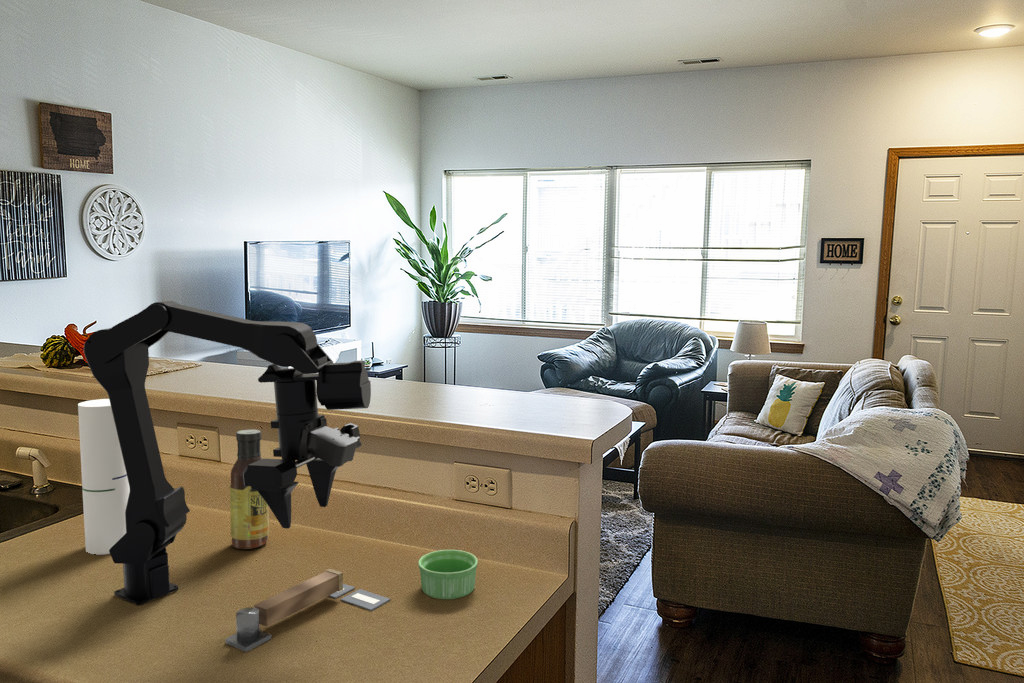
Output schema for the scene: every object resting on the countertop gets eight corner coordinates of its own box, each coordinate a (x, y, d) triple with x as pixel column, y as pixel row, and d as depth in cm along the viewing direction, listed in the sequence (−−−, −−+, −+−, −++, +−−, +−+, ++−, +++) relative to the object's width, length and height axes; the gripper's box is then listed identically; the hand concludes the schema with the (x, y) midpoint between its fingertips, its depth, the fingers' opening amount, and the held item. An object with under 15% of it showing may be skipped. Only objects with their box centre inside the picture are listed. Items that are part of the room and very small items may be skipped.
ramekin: (444, 571, 120) (444, 544, 120) (489, 586, 115) (489, 558, 114) (405, 591, 113) (405, 563, 112) (451, 607, 108) (452, 578, 107)
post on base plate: (225, 643, 97) (224, 614, 96) (251, 630, 100) (250, 602, 100) (245, 652, 95) (244, 622, 94) (271, 638, 98) (270, 610, 98)
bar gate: (267, 627, 98) (266, 608, 98) (254, 622, 100) (253, 603, 99) (342, 589, 110) (342, 572, 109) (330, 585, 111) (329, 568, 111)
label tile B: (340, 600, 109) (340, 598, 109) (359, 590, 113) (359, 588, 113) (371, 610, 106) (371, 609, 106) (390, 600, 109) (390, 598, 109)
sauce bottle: (257, 552, 126) (253, 437, 124) (223, 549, 128) (219, 435, 125) (276, 538, 133) (274, 428, 131) (244, 535, 134) (241, 426, 132)
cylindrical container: (141, 544, 129) (135, 401, 127) (100, 557, 123) (92, 408, 121) (118, 535, 133) (111, 397, 131) (77, 548, 127) (69, 403, 125)
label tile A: (306, 588, 113) (306, 586, 113) (326, 579, 116) (326, 577, 116) (335, 598, 110) (335, 596, 110) (355, 588, 113) (355, 586, 113)
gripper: (307, 427, 96) (317, 545, 97) (379, 399, 113) (386, 499, 115) (235, 425, 99) (245, 538, 101) (315, 398, 117) (323, 495, 119)
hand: (305, 516), depth 109 cm, fingers open, 9 cm apart
